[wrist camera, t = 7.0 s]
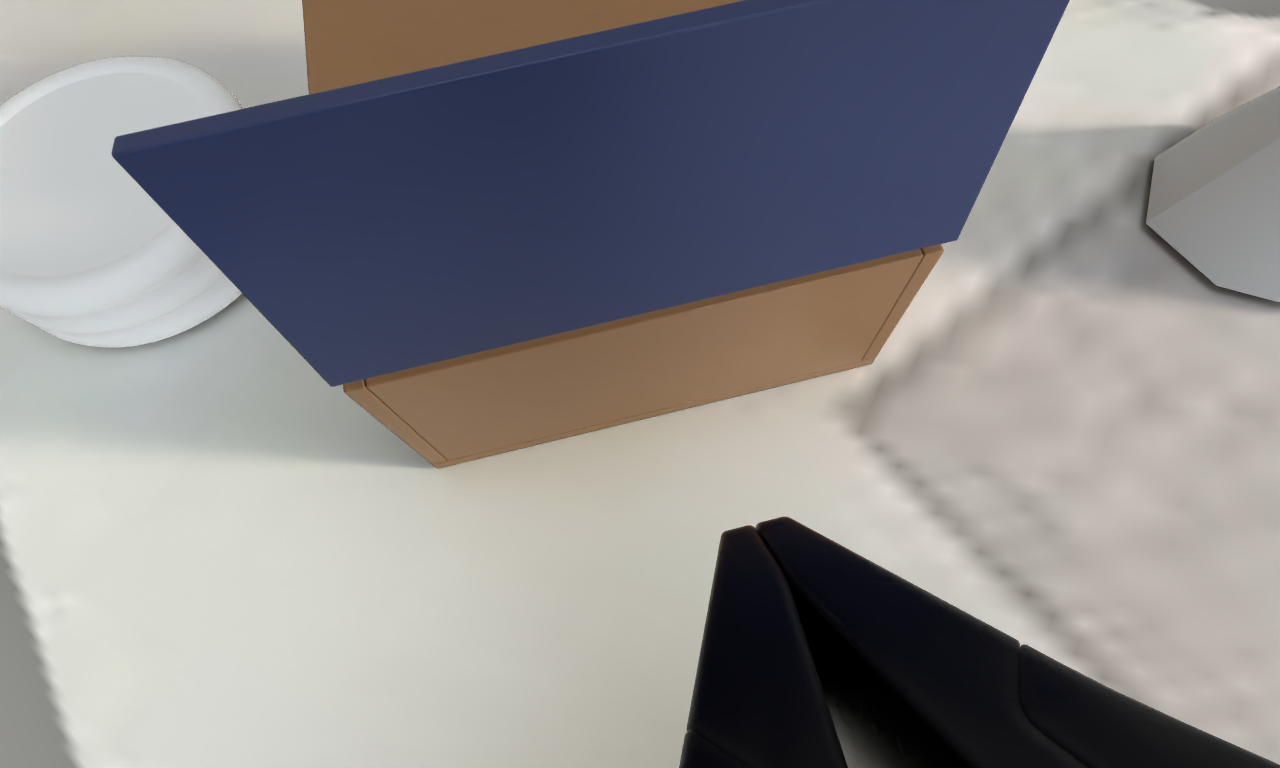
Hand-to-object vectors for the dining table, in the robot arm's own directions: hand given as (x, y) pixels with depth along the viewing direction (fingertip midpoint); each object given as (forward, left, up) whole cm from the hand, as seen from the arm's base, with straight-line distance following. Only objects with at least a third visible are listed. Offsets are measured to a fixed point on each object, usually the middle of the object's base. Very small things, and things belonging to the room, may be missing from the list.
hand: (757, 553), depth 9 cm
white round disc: (+11, +21, -12) cm, 27 cm away
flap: (+6, +2, -1) cm, 7 cm away
